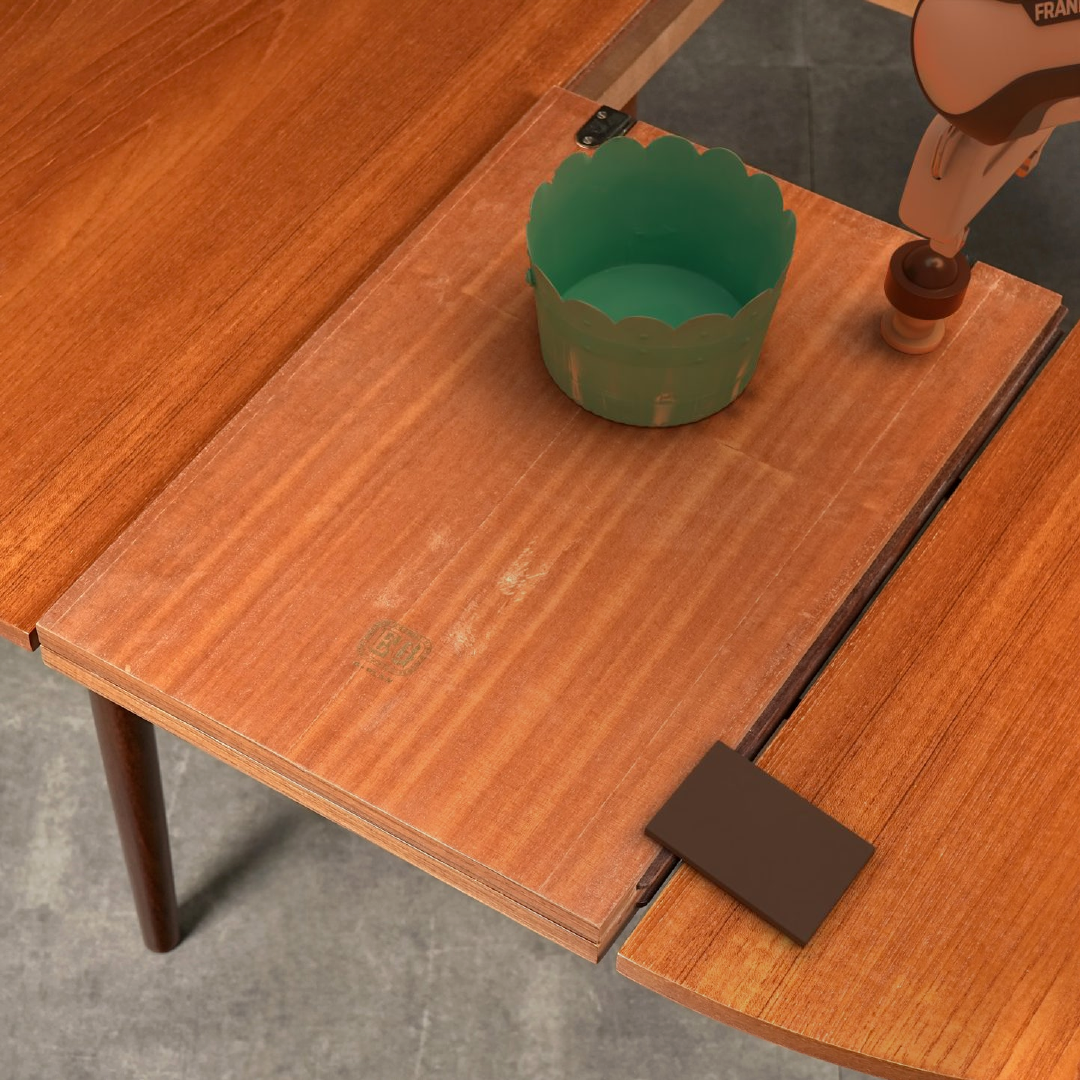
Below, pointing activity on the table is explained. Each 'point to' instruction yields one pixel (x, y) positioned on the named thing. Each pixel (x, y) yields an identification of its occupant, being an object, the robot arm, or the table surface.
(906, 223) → the robot arm
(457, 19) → the table surface
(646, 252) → the basket
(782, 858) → the front mat
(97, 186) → the table surface
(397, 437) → the table surface
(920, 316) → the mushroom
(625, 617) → the table surface
